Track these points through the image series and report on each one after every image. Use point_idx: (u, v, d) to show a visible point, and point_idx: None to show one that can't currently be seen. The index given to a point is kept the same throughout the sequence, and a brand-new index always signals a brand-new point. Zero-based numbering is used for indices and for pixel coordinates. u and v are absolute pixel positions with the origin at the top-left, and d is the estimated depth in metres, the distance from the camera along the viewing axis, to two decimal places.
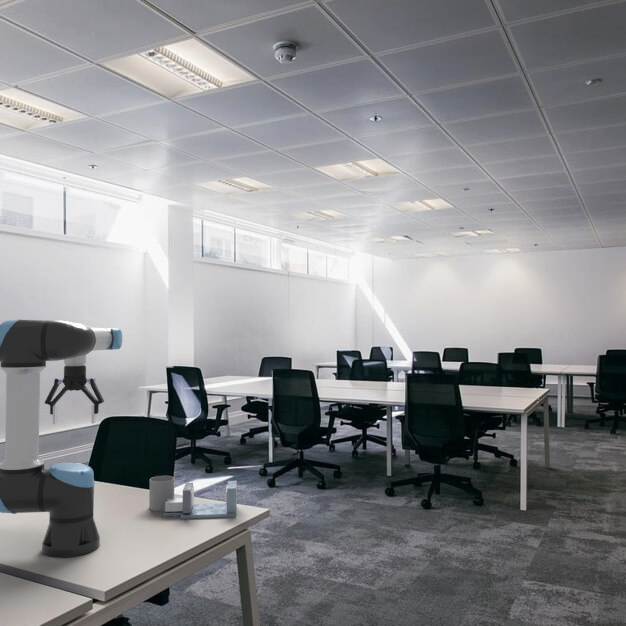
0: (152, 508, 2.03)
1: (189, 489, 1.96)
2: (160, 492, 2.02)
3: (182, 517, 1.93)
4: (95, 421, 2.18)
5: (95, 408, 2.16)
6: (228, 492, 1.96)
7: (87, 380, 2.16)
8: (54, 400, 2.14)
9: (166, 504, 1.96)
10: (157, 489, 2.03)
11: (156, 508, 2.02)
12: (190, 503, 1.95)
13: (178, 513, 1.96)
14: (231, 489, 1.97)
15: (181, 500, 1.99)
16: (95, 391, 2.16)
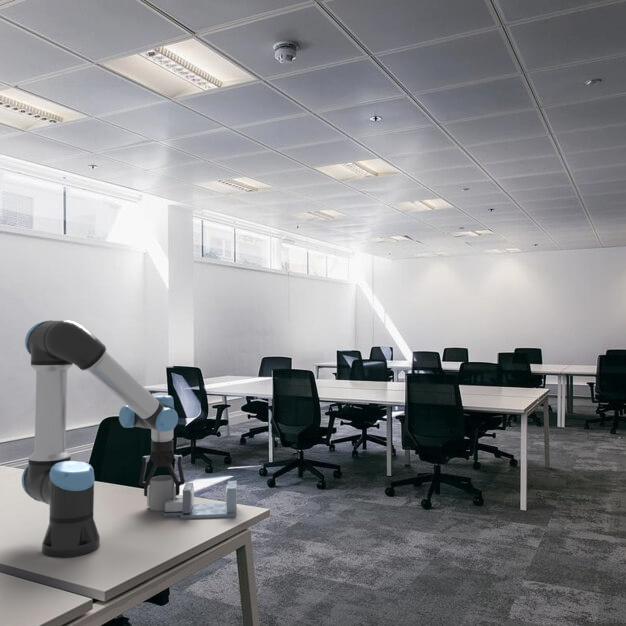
0: (152, 508, 2.03)
1: (189, 489, 1.96)
2: (160, 492, 2.02)
3: (182, 517, 1.93)
4: None
5: (177, 489, 2.06)
6: (228, 492, 1.96)
7: (175, 457, 2.07)
8: (147, 481, 2.05)
9: (166, 504, 1.96)
10: (157, 489, 2.03)
11: (156, 508, 2.02)
12: (190, 503, 1.95)
13: (178, 513, 1.96)
14: (231, 489, 1.97)
15: (181, 500, 1.99)
16: (180, 470, 2.06)
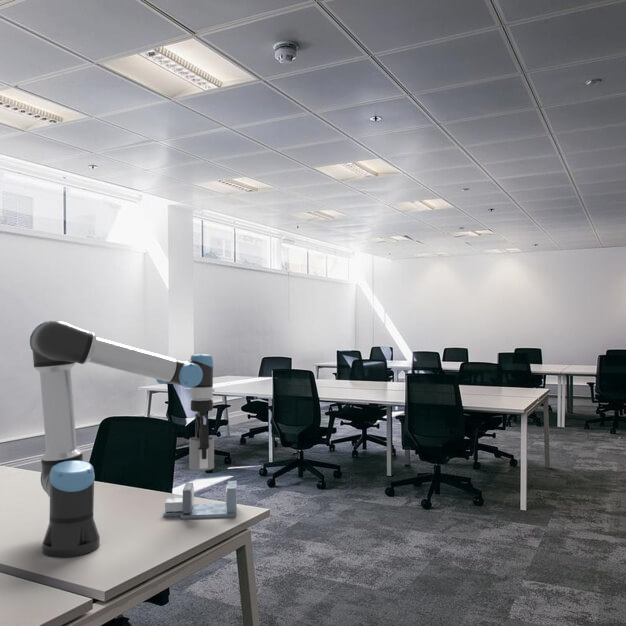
0: None
1: (189, 489, 1.96)
2: (189, 450, 2.01)
3: (182, 517, 1.93)
4: (207, 467, 1.98)
5: (202, 453, 1.98)
6: (228, 492, 1.96)
7: None
8: None
9: (166, 504, 1.96)
10: None
11: None
12: (190, 503, 1.95)
13: (178, 513, 1.96)
14: (231, 489, 1.97)
15: (181, 500, 1.99)
16: (201, 433, 1.96)
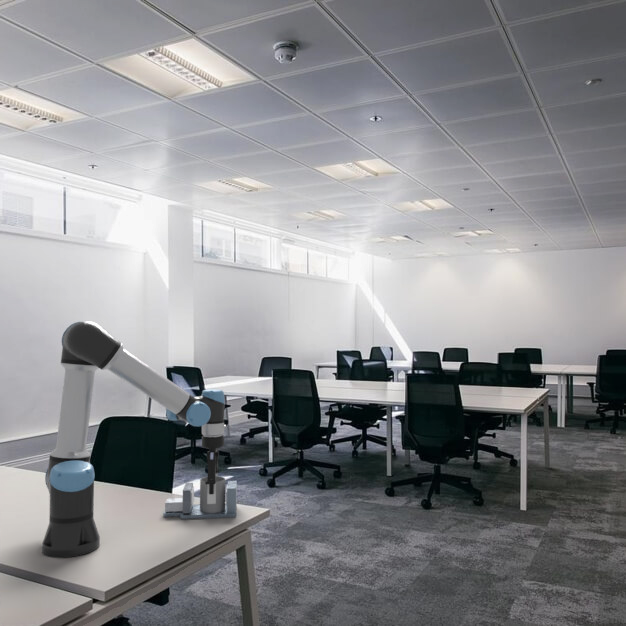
0: None
1: (189, 489, 1.96)
2: (200, 491, 2.00)
3: (182, 517, 1.93)
4: (215, 502, 1.94)
5: None
6: (228, 492, 1.96)
7: None
8: None
9: (166, 504, 1.96)
10: None
11: None
12: (190, 503, 1.95)
13: (178, 513, 1.96)
14: (231, 489, 1.97)
15: (181, 500, 1.99)
16: None
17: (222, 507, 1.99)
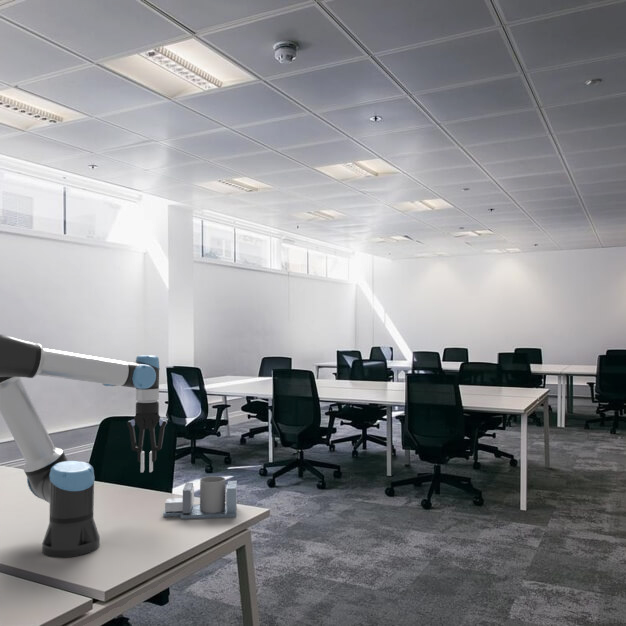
0: None
1: (189, 489, 1.96)
2: (200, 491, 2.00)
3: (182, 517, 1.93)
4: (152, 469, 2.00)
5: (153, 455, 1.98)
6: (228, 492, 1.96)
7: (160, 420, 1.99)
8: (139, 445, 1.97)
9: (166, 504, 1.96)
10: None
11: None
12: (190, 503, 1.95)
13: (178, 513, 1.96)
14: (231, 489, 1.97)
15: (181, 500, 1.99)
16: (160, 435, 1.98)
17: (222, 507, 1.99)
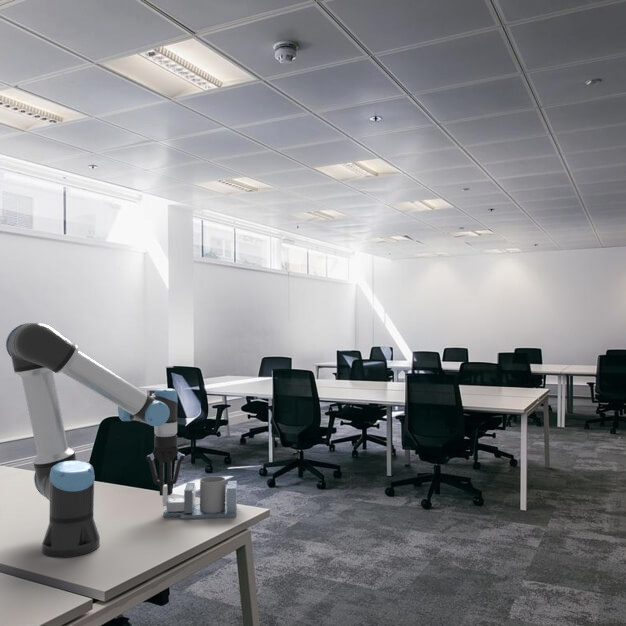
0: None
1: (191, 489, 1.96)
2: (200, 491, 2.00)
3: (182, 517, 1.93)
4: None
5: (168, 489, 1.99)
6: (228, 492, 1.96)
7: (178, 454, 1.99)
8: (161, 479, 1.98)
9: (168, 504, 1.96)
10: None
11: None
12: (192, 503, 1.95)
13: (178, 513, 1.96)
14: (231, 489, 1.97)
15: (183, 500, 1.99)
16: (177, 469, 1.99)
17: (222, 507, 1.99)
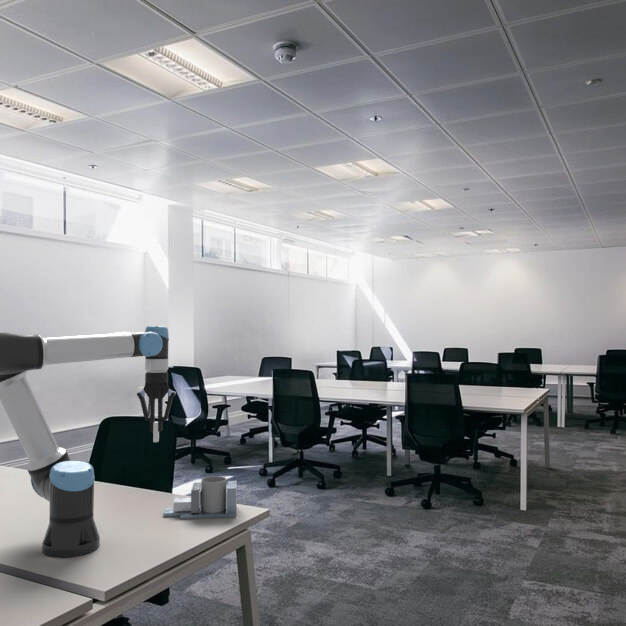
0: None
1: (197, 489, 1.96)
2: (201, 491, 2.00)
3: (182, 517, 1.93)
4: (158, 439, 2.00)
5: (159, 425, 1.99)
6: (228, 492, 1.96)
7: (169, 391, 2.00)
8: (151, 415, 1.98)
9: (174, 504, 1.97)
10: None
11: None
12: (198, 503, 1.96)
13: (178, 513, 1.96)
14: (231, 489, 1.97)
15: (189, 500, 1.99)
16: (168, 406, 1.99)
17: (223, 507, 1.99)
